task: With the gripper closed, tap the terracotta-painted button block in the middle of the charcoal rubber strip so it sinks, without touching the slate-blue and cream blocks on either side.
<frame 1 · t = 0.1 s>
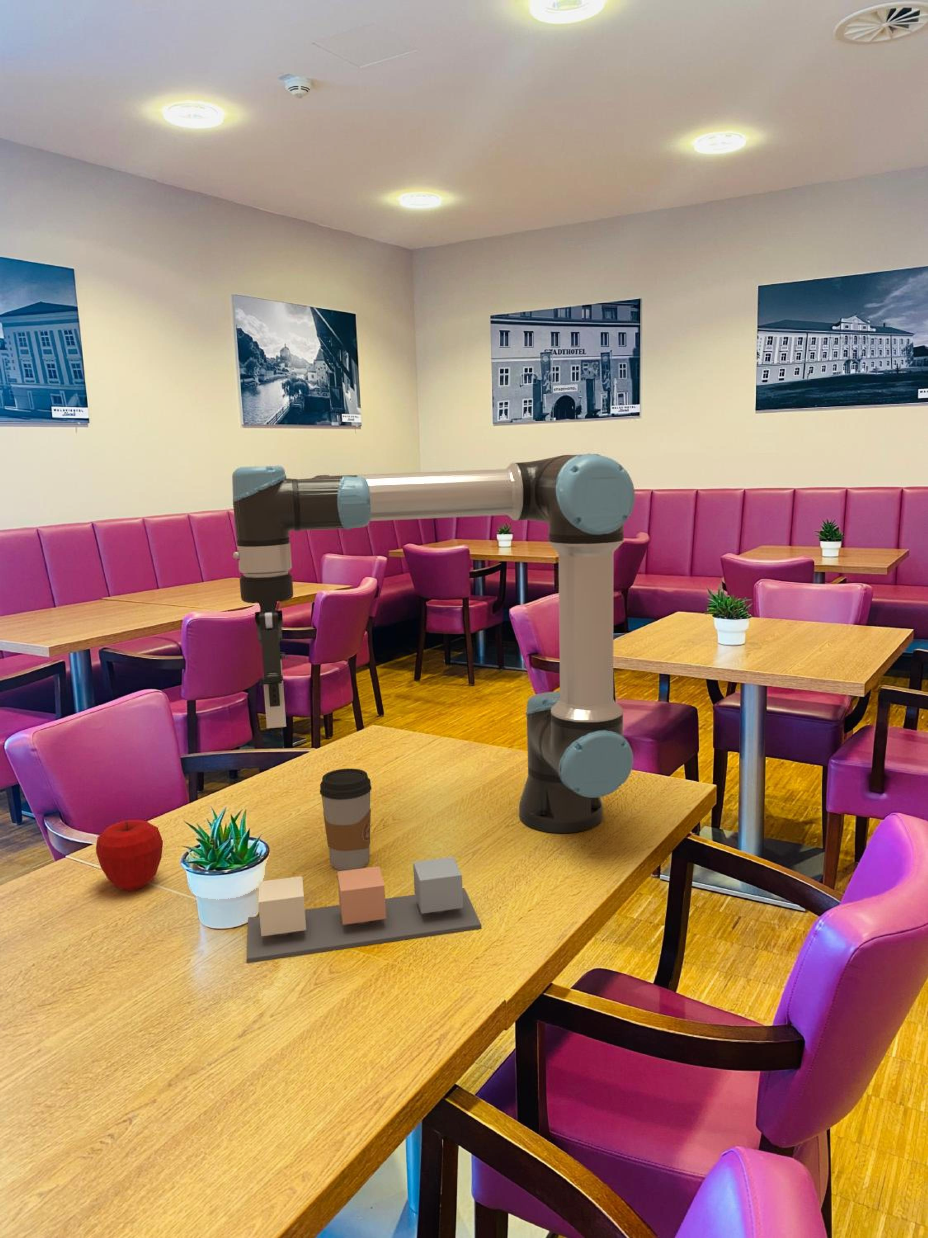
hand: (276, 713, 132), 28 cm above the table, fingers open, 13 cm apart
coffee cup: (350, 864, 145), on the table
strip: (363, 924, 125), on the table
apple: (133, 886, 139), on the table
block terracotta: (361, 895, 124), point 5 cm above the table, slide at 0.0 cm
block cream: (282, 905, 122), point 5 cm above the table, slide at 0.0 cm
block slate: (437, 884, 127), point 5 cm above the table, slide at 0.0 cm
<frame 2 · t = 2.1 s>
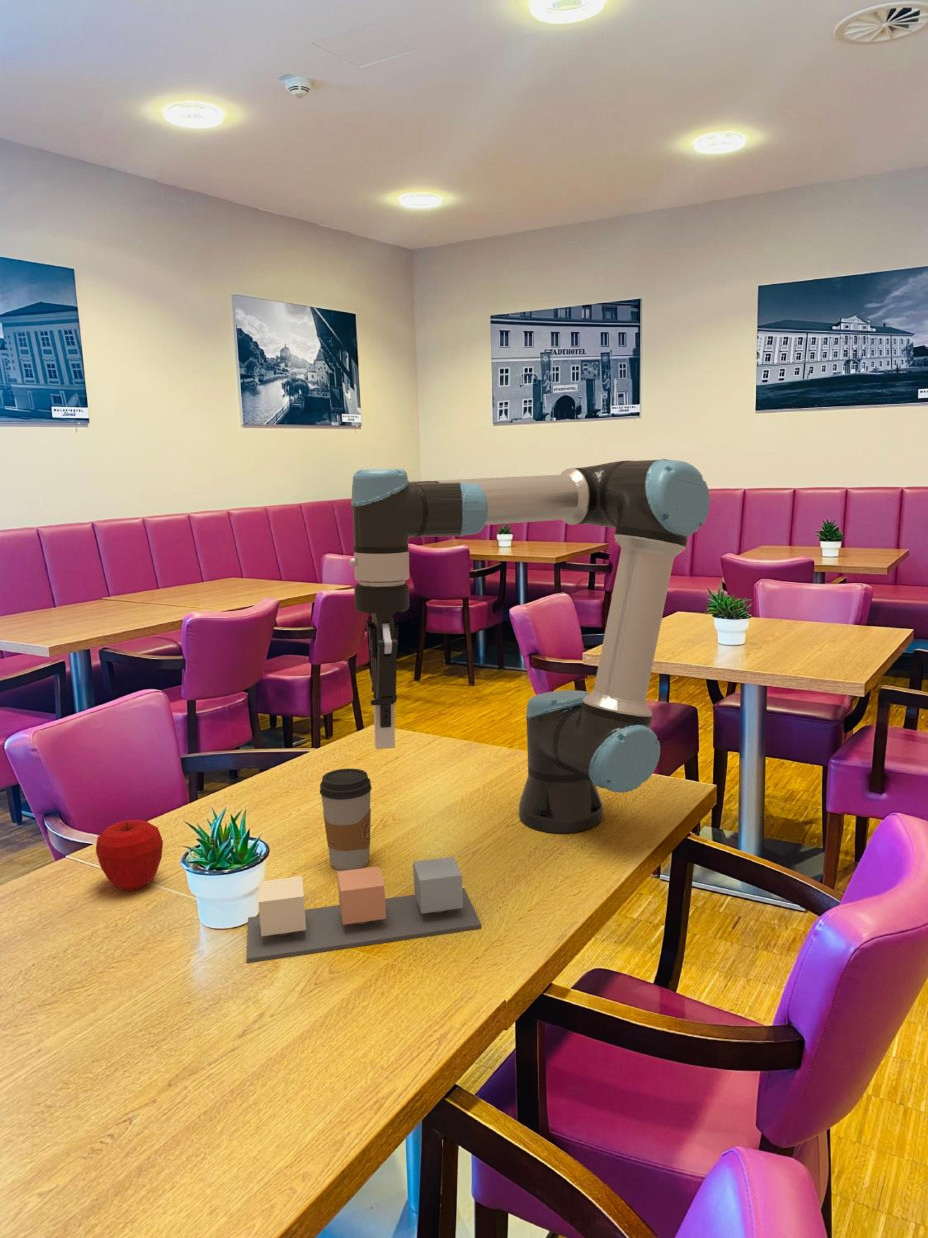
hand: (384, 746, 125), 25 cm above the table, fingers closed
nothing on the table moved.
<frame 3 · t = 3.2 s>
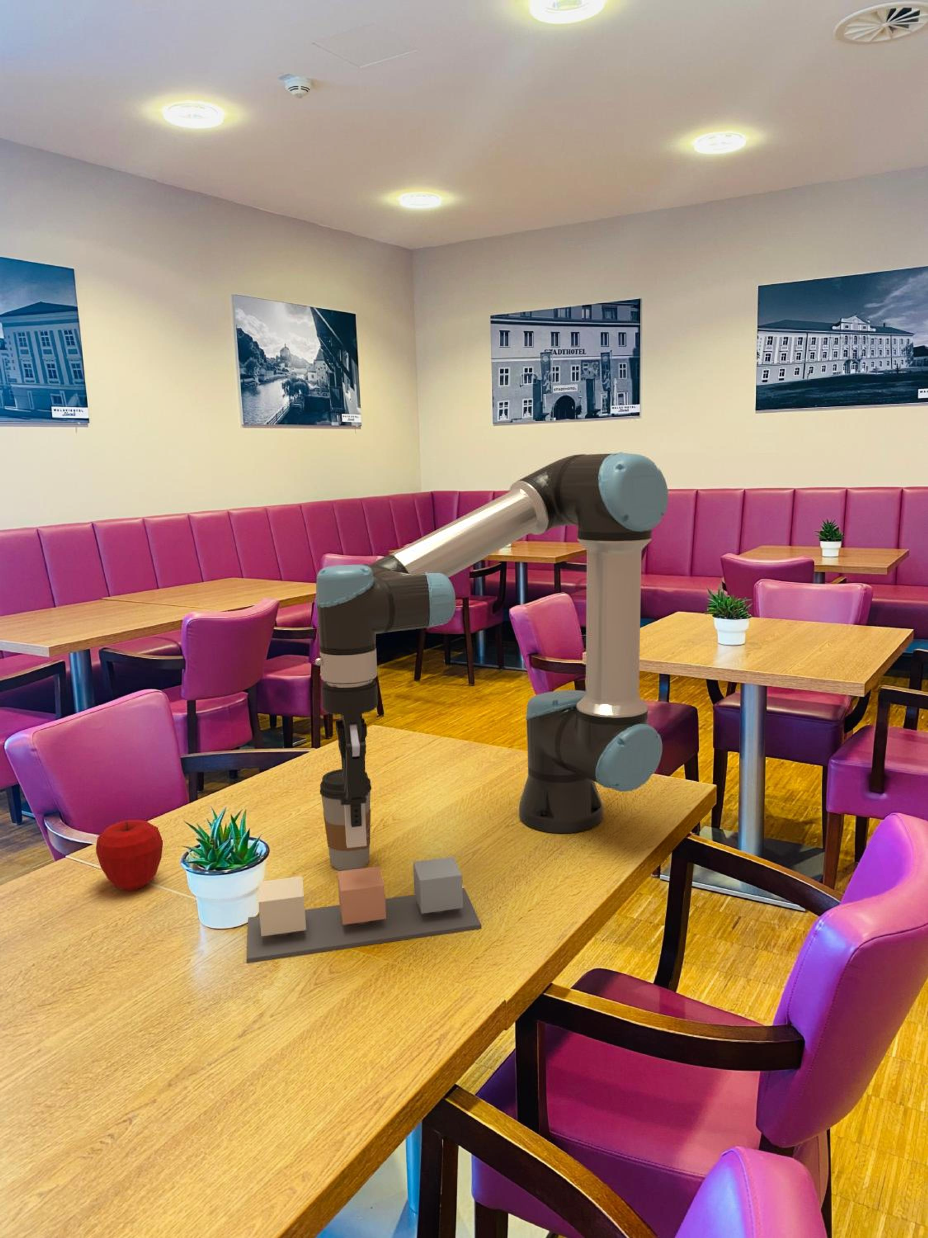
hand: (356, 844, 123), 12 cm above the table, fingers closed
nothing on the table moved.
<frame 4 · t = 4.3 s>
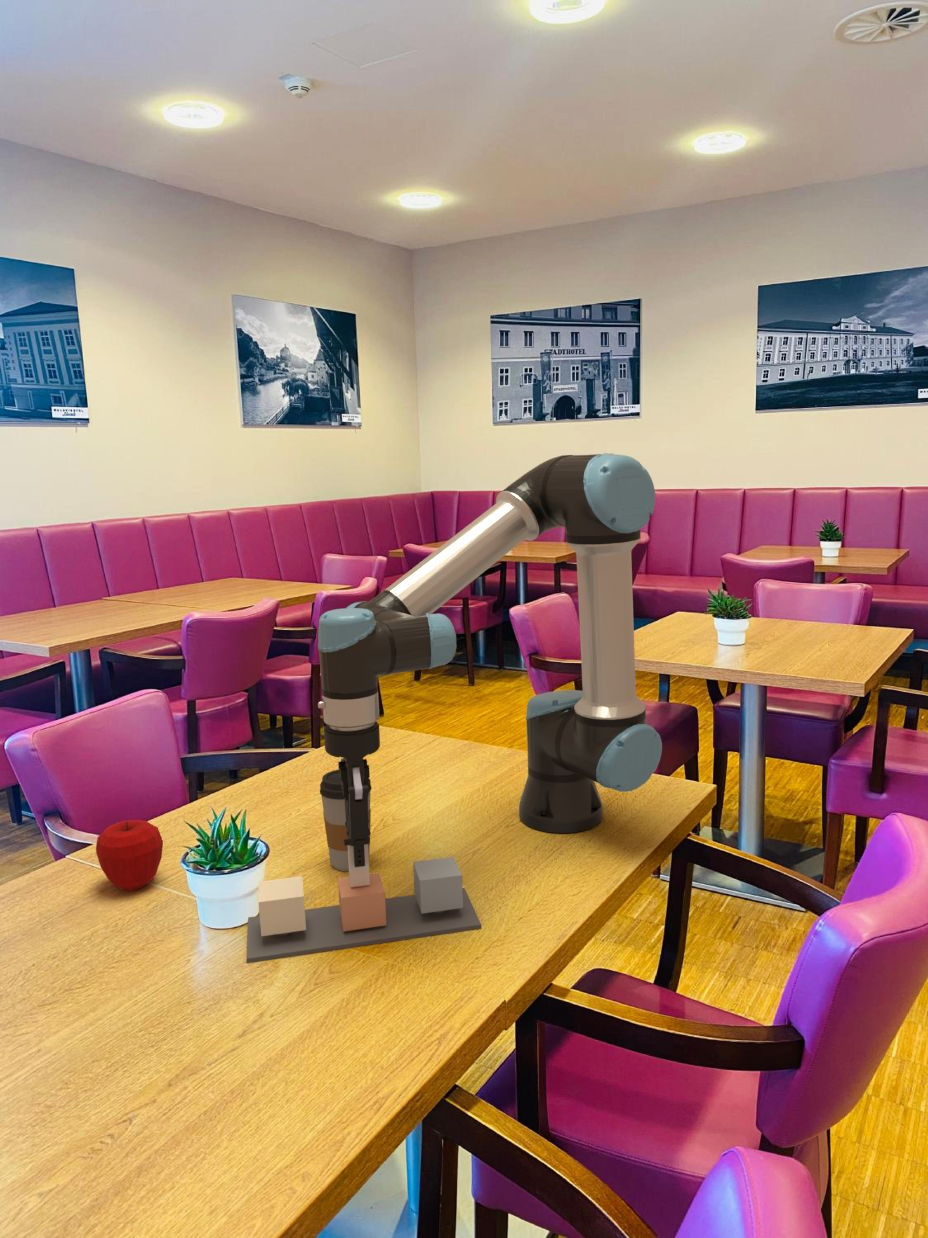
hand: (359, 883, 124), 6 cm above the table, fingers closed
block terracotta: (361, 901, 125), point 4 cm above the table, slide at 1.0 cm, touching gripper
everything else where it was.
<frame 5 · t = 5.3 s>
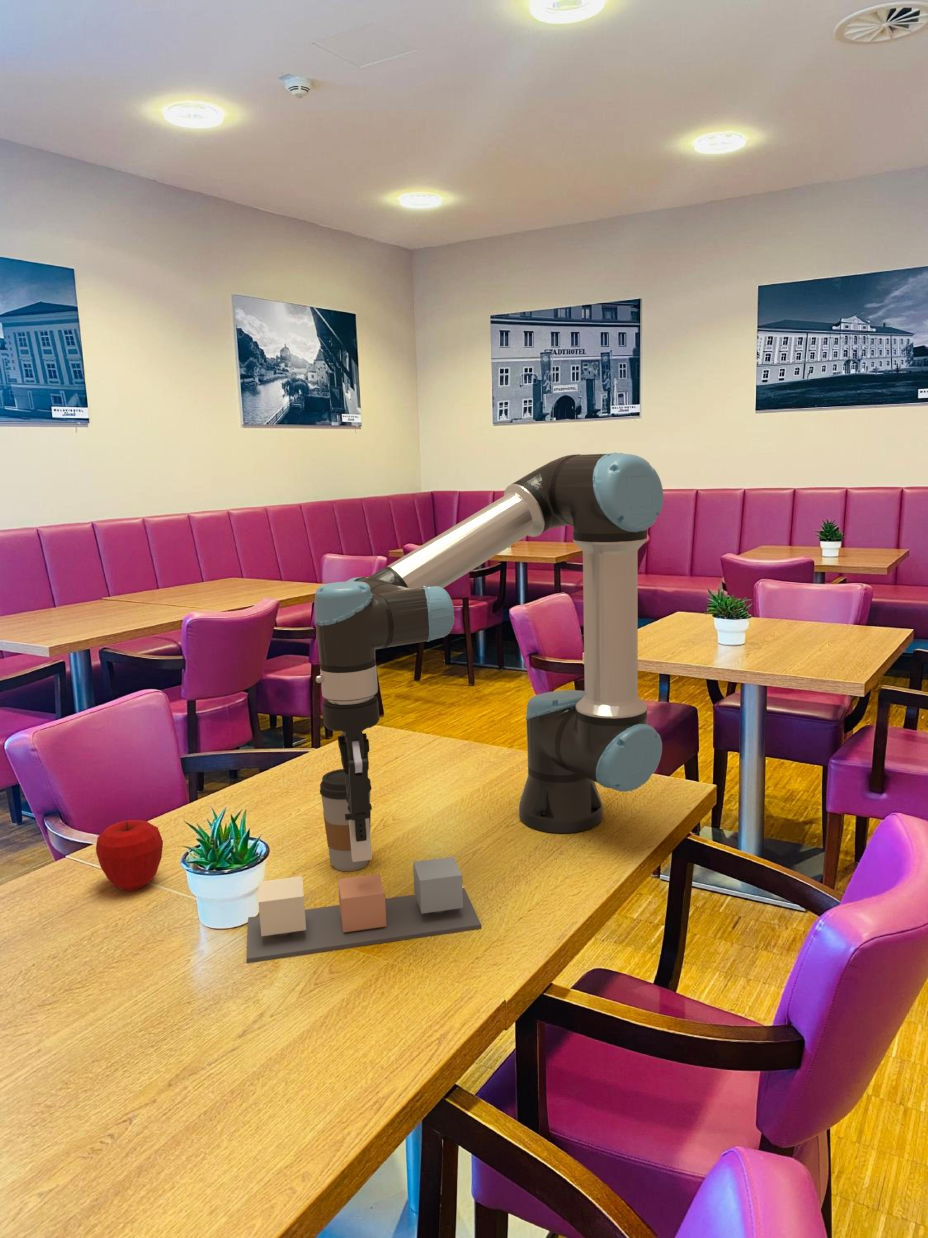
hand: (361, 858, 124), 10 cm above the table, fingers closed
block terracotta: (361, 902, 125), point 3 cm above the table, slide at 1.1 cm
everything else where it was.
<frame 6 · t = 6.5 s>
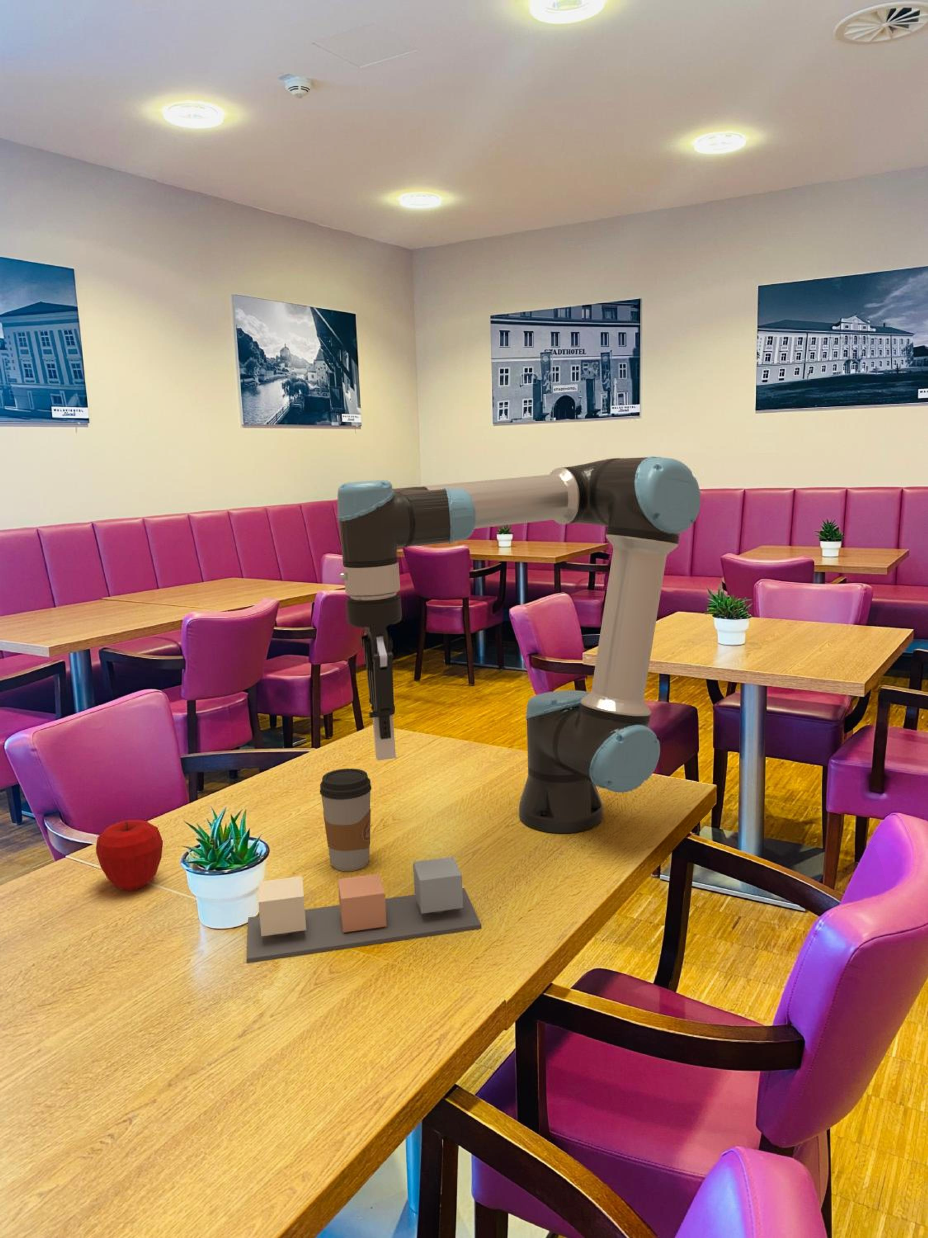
hand: (385, 757, 125), 23 cm above the table, fingers closed
nothing on the table moved.
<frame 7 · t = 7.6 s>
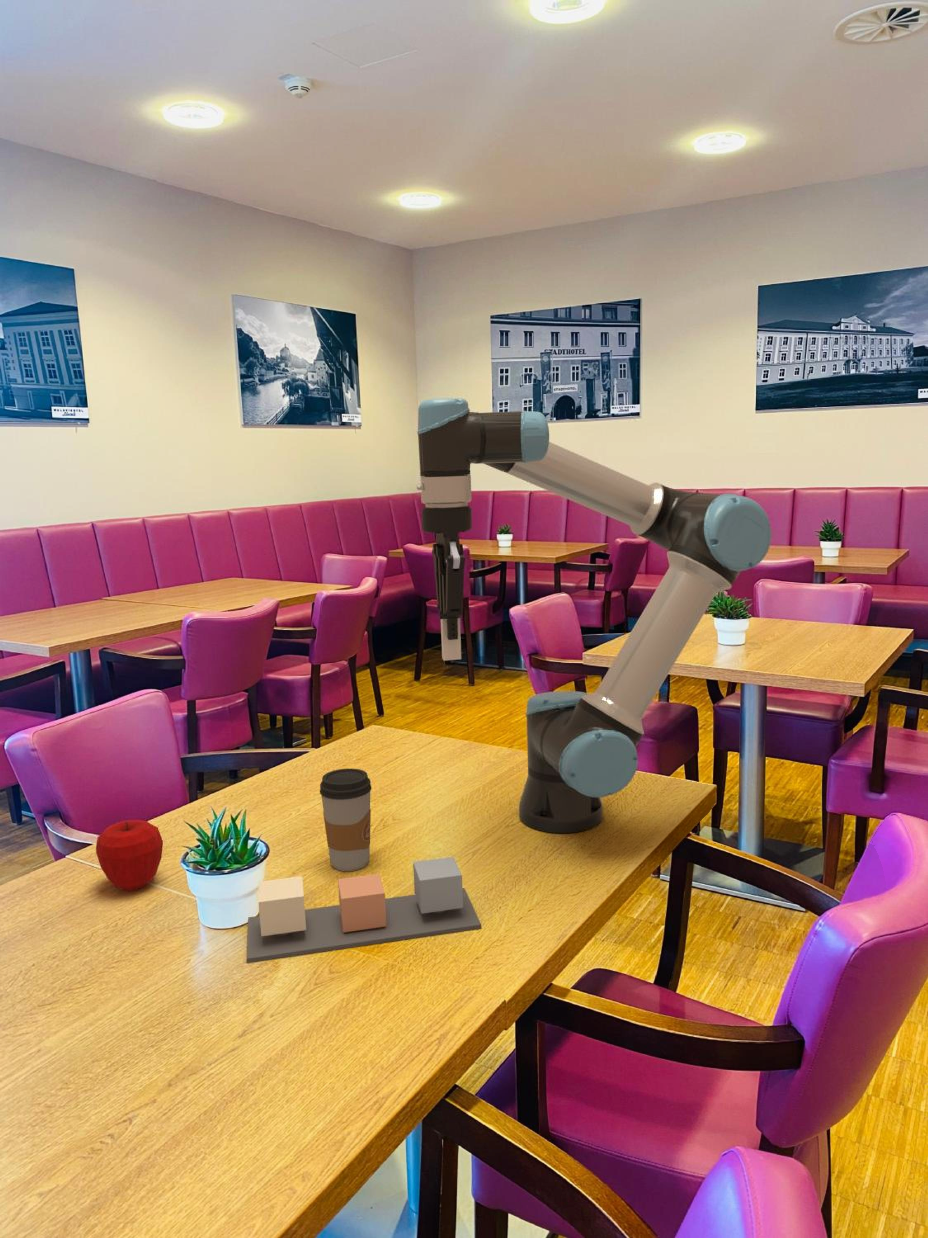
hand: (451, 658, 136), 34 cm above the table, fingers closed
nothing on the table moved.
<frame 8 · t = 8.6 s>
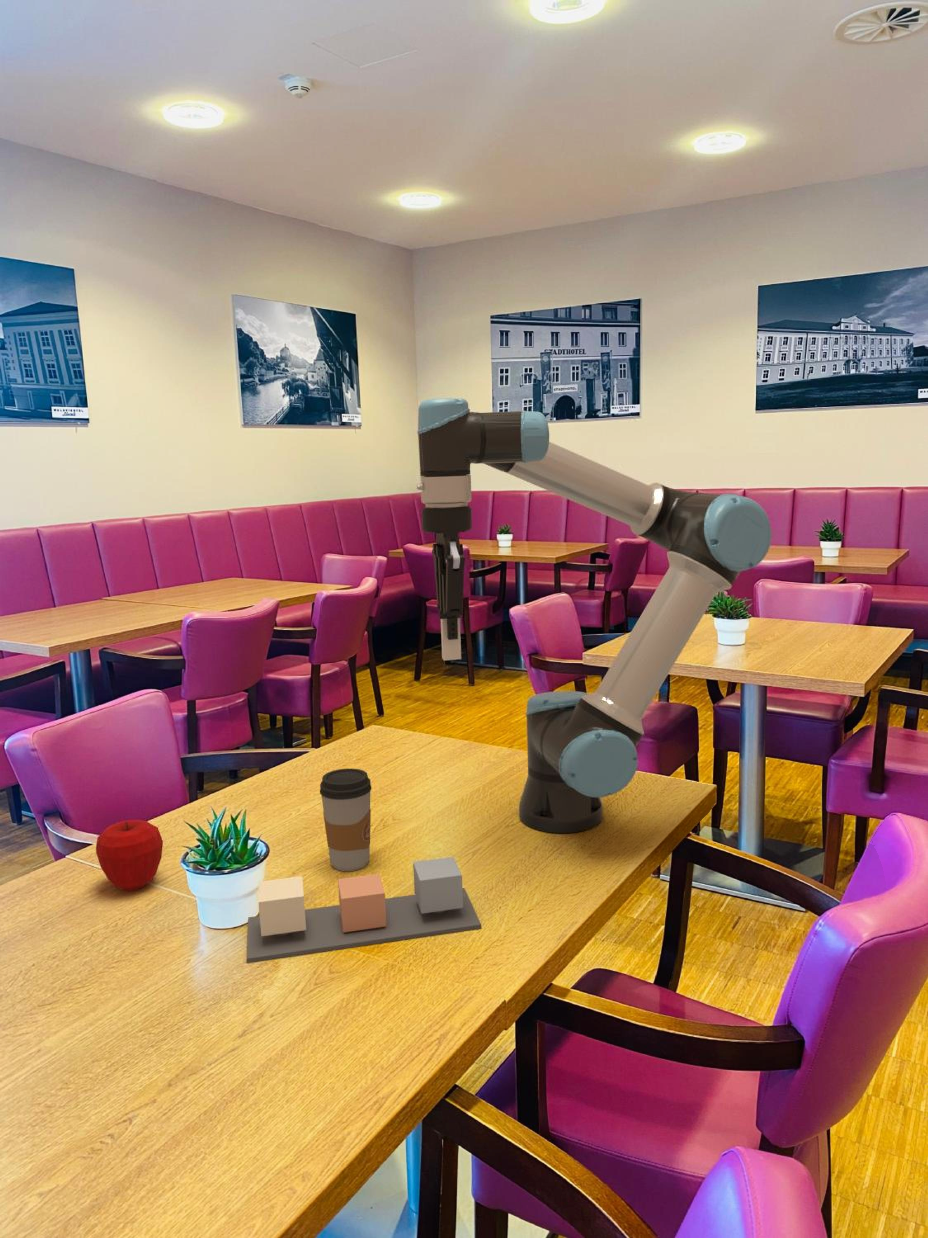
hand: (451, 658, 136), 34 cm above the table, fingers closed
nothing on the table moved.
at the end: block terracotta slide at 1.1 cm; block slate slide at 0.0 cm; block cream slide at 0.0 cm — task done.
